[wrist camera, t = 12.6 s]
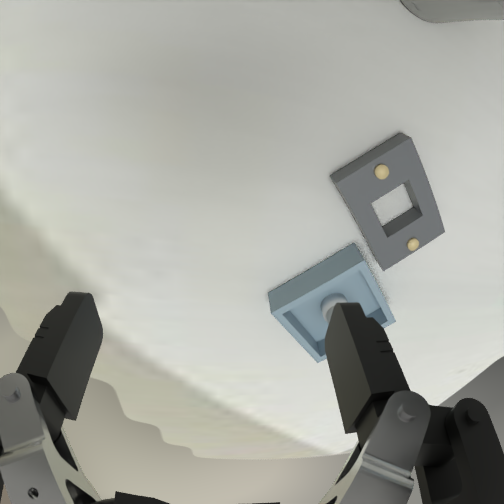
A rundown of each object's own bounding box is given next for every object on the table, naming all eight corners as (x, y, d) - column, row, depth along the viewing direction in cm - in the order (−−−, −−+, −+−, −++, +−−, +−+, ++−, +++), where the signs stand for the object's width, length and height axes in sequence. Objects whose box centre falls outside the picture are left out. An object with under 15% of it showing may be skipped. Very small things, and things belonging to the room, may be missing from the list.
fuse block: (400, 132, 32) (413, 138, 29) (435, 222, 38) (446, 233, 36) (329, 175, 34) (337, 184, 32) (376, 260, 41) (384, 273, 38)
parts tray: (354, 242, 39) (364, 259, 36) (386, 303, 45) (395, 321, 42) (268, 292, 42) (271, 313, 39) (312, 343, 48) (317, 362, 45)
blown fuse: (340, 288, 42) (359, 336, 34) (350, 305, 43) (370, 352, 36) (315, 302, 43) (330, 352, 35) (327, 318, 44) (342, 366, 37)
